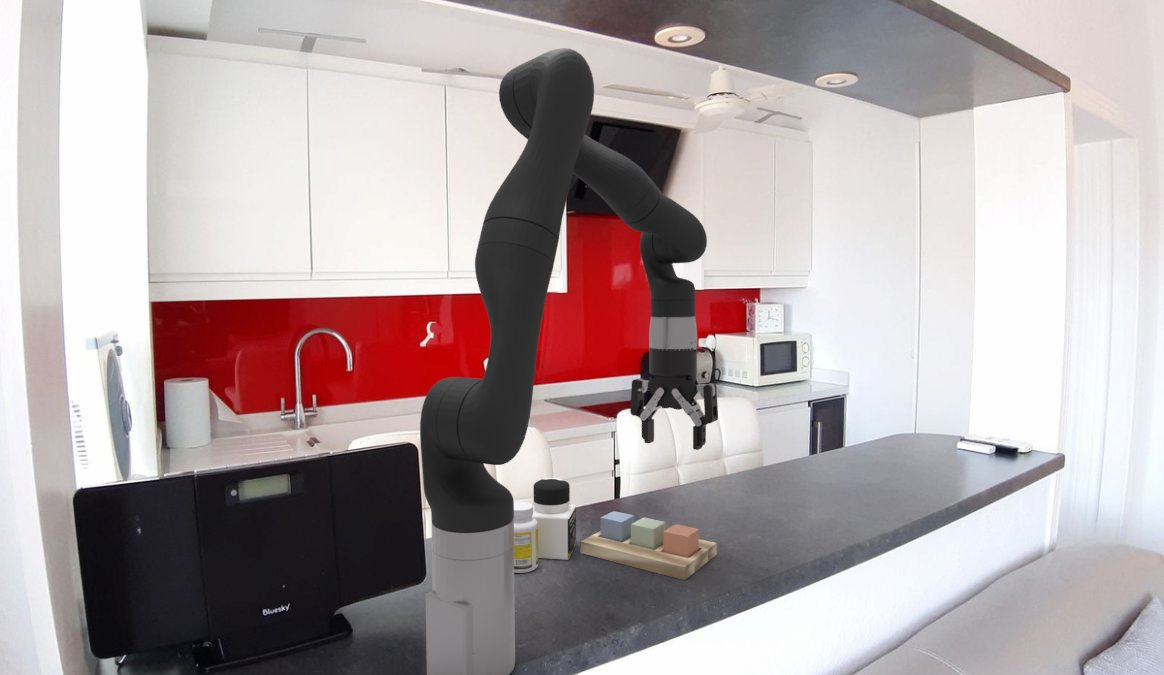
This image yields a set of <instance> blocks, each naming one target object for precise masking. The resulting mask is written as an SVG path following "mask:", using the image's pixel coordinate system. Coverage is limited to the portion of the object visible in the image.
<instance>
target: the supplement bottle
mask: <svg viewBox="0 0 1164 675" xmlns="http://www.w3.org/2000/svg"><path fill="white" fill-rule="evenodd" d="M533 507H534V504H532V503H529V502H514V574H515V573H516V574H524V573H529V572H533V571H534V570H537V568H538V567H539V558H538V523H537V520H536V519H535V518H533V517H532V515H533Z"/></svg>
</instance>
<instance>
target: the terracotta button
mask: <svg viewBox="0 0 1164 675" xmlns="http://www.w3.org/2000/svg"><path fill="white" fill-rule="evenodd" d="M699 539H700V529H699V528H695V527H690V526H686V525H681V524H674V525H672V526H669V527H668V528H667V529H666V530H665V531H664V535H663V552H665V553H669V554H673V555H677V556H681V557H686V558H690V556H692V555H693V554H695V553H696V552H697V551H699Z"/></svg>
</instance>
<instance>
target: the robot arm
mask: <svg viewBox="0 0 1164 675" xmlns="http://www.w3.org/2000/svg"><path fill="white" fill-rule="evenodd" d="M498 94H499V96H498V97H499V102H500V108H501V110H502V112H503V115H504V117H505V118H506V119H507V122H508V123H509V124H510V125H511V126H512V127H513V128H514V129H515V130H516V131H517V132H518V133H519V134H520V135H521V136H523V137H524V138H525V139H526V140H527V141H526V144H525V145H524V149H523V151H522V152H521V154H520V156H519V158H518V159H517V160H516V162H515V164H514V165H513V167H512V168H511V170H510V171H509V173H508V174H507V175H506V177H505V179H504V181H502V183H501V185H500V186H499V188H498V190H497V191H496V193H495V194H494V196H493V198H492V200H491V201H490V203H489V205H488V208H487V211H486V213H485V215H484V219H483V222H482V226H481V231H480V235H479V238H478V239H479V240H478V244H477V247H476V252H475V259H474V270H475V271H474V272H475V277H476V282H477V286H478V289H479V292H480V294H481V298H482V301H483V304H484V306H485V310H486V313H487V317H488V320H489V328H490V343H489V352H488V357H487V358H488V359H487V363H486V367H485V371H484V376H483V378H475V377H461V376H456V377H455V376H453V377H452V376H450V377H446V378H442V379H440V380H437V382H435V383H434V384H433V386H431V388H430V389H429V391H428V392H427V394H426V396H425V398H424V400H423V404H422V407H421V408H422V409H421V412H420V422H419V424H420V426H419V431H420V432H419V434H420V436H419V438H420V453H421V465H422V466H421V467H422V483H423V484H422V485H423V492H424V497H425V500H426V501H427V502H426V503H427V504H428V506H429V508H430V515H431V516H430V517H431V569H432V571H431V572H432V573H431V574H432V575H431V576H432V578H431V581H432V582H431V583H432V590H430V591H429V592H427V593H426V594H425V635H426V636H425V638H426V640H425V641H426V649H425V650H426V675H510V674H511V673H513V671H514V668H515V666H516V630H515V629H516V628H515V627H516V626H515V624H516V623H515V622H516V621H515V620H516V619H515V618H516V617H515V610H516V609H515V608H516V607H515V573H514V503H515V502H514V501H515V500H514V498H513V494H512V493H511V491H510V490H509V489H508V488H507V487H505V486H504V485H503V484H502V483H501V482H499V481H498V480H496V479H495V478H494V477H493V476H492V475H491V474H490V472H489V471H488V470H487V468H486V467H485V465H491V466H499V465H500V466H501V465H505V464H508V463H509V462H511V461H512V460H513V459H514V458H515V457H516V456H517V454H518V453H519V452H520V450H521V448H522V445H523V444H524V441H525V439H526V436H527V431H528V428H529V424H530V417H531V410H532V403H533V394H534V393H533V392H534V386H535V385H534V384H535V383H534V382H535V374H536V373H535V372H536V364H537V354H538V346H539V340H540V333H541V329H542V328H541V327H542V322H543V315H544V311H545V305H546V301H547V300H546V299H547V296H548V290H549V286H550V281H551V279H552V278H551V277H552V274H553V270H554V265H555V261H556V255H557V250H558V245H559V241H560V234H561V228H562V222H563V217H564V212H565V209H566V208H565V207H566V203H567V199H568V197H569V196H568V195H569V193H570V192H569V191H570V186H571V181H572V179H573V175H574V176H576V177H577V178H578V179H580V180H581V181H582V182H584V183H585V184H586V185H587V186H588V187H589V188H590V189H592V190H593V191H594V192H595V194H597V195H598V196H599V197H600V198H601V199H602V200H603V201H604V202H605V203H606V204H607V205H608V206H609V207H610V208H611V210H612V211H613V212H614V213H615V214H616V215H617V216H618V217H619V218H620V220H622V221H623V222H624V223H625V224H626V225H627V227H629V228H630V229H631V230H634V231H635V232H640V233H641V235H640V239H639V252H640V257H641V261H642V264H643V268H644V271H645V276H646V279H647V283H648V287H649V289H650V290H649V291H650V322H649V332H648V336H649V337H648V339H649V342H648V345H649V349H648V351H649V353H648V354H649V356H648V357H649V359H648V360H649V362H648V364H649V366H648V367H649V369H648V370H649V380H647V379H644V378H643V377H640V378H636V379H633V380H632V381H631V389H630V390H631V391H630V392H631V393H630V394H631V396H630V412H629V413H630V415H632V416H636V417H637V418H639V419H640V421H641V438H642V440H643V441H644V442H643V443H645V444H651V443H654V442H655V419H653V418H654V416H655V414H656V413H657V412H658V410H660V408H661V409H673V410H683V411H684V412H685V415H687V416H689V418H690V419H691V421H692V422H693V424H694V425H693V427H692V448H693V450H697V451H699V450H701V449H702V448H703V446H705V445H706V442H707V433H706V432H707V425H709V424H712V423H714V422H716V421H718V419H719V409H718V406H719V405H718V393H717V392H718V390H717V384H716V383H714V382H712V383H708V384H707V383H706V384H704V383H702V384H700V383H699V382H698V380H697V374H698V343H699V342H698V330H697V322H696V288H695V284H694V283H693V281H691V280H689V279H686V278H682V277H679V276H678V275H677V274H676V272H675V271H676V270H675V269H674V268H675V267H674V265H673V264H686V263H687V264H688V263H692V262H696V261H698V260H699V259H700V258H701V257H702V256H703V255H704V253H705V251H706V249H707V246H708V244H707V243H708V239H707V237H708V236H707V233H706V230H705V228H704V226H703V224H702V222H701V221H700V219H699V218H698V217H696V216H695V215H694V214H693V213H692V212H690V211H689V210H688V209H686V207H683V206H682V205H681V204H679V203H678V202H677V201H675V200H673V199H671V197H670V198H669V197H668V196H667V195H665V194H664V193H663V192H662V191H661V190H660V188H659V187H658V185H657V184H656V183H655V182H654V181H653V180H652V179H651V177H649V175H648V174H647V172H645V171H644V169H642V167H640V166H639V165H638V164H637V163H636V162H634V161H633V160H632V159H631V158H628V157H627V156H626V155H623V154H621V153H619V152H617V151H616V150H614V149H612V148H609V147H607V146H606V145H604V144H602V143H600V142H598V141H596V140H594V139H592V138H591V137H590V136H588V135H587V134H586V131H587V127H588V125H589V122H590V118H591V115H592V111H593V106H594V100H595V83H594V77H593V73H592V70H591V67H590V65H589V63H588V61H587V60H586V58H585V57H584V56H583V55H582V54H581V53H579V52H578V51H577V50H574V49H571V48H567V47H565V48H563V47H562V48H556V49H552V50H549V51H547V52H543V53H542V54H540V55H538V56H536V57H533V58H532V59H530V60H528V61H525V62H523V63H521V64H519V65H517V66H516V67H514V68H512V69H510V70H509V71H508V72H506V73H505V75H504V76H503V78H502V79H501V81H500V84H499V90H498ZM647 391H649V392H650V394H651V396H652V397H651V398H650V400H649V401H648V402H647V404H646V405H645V393H646V392H647ZM698 393H699V394H700V396H701V398H703V406H704V408H703V409H704V412H703V410H702V408H701V405H700V403H699V402H698V400H697V399H696V398H695V397H696V395H697V394H698Z"/></svg>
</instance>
